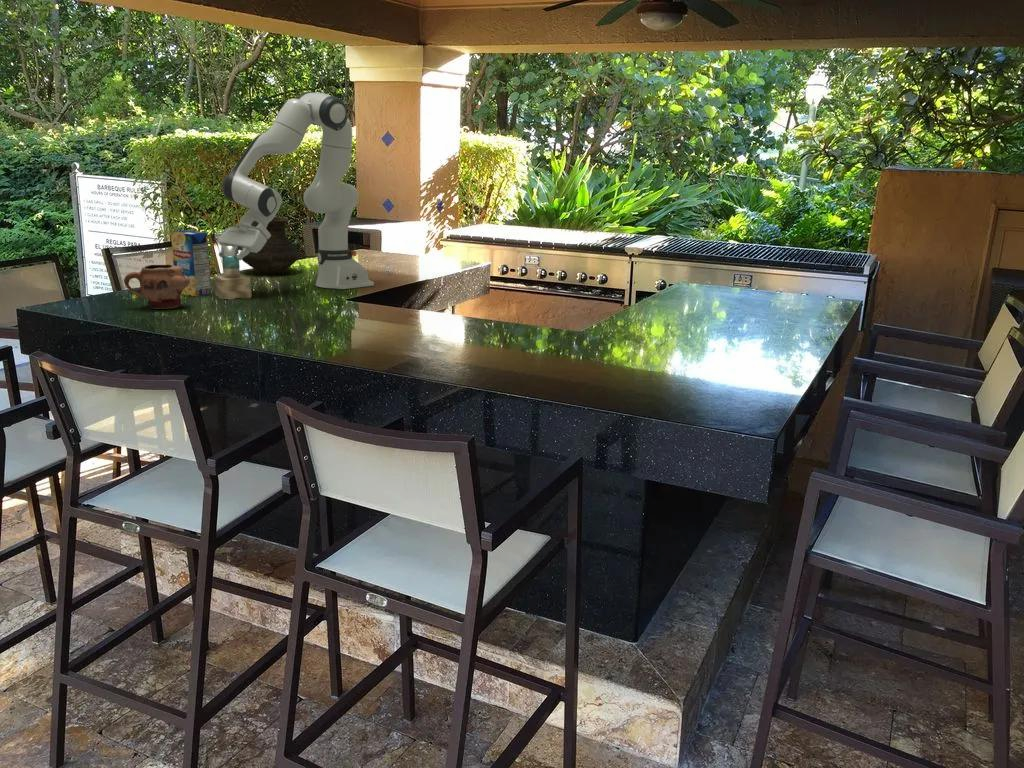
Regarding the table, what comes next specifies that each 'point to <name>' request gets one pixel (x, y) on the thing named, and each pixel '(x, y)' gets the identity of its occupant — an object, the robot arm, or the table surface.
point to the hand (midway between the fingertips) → (229, 257)
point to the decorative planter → (160, 285)
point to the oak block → (232, 287)
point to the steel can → (230, 261)
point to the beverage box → (192, 260)
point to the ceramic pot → (274, 250)
